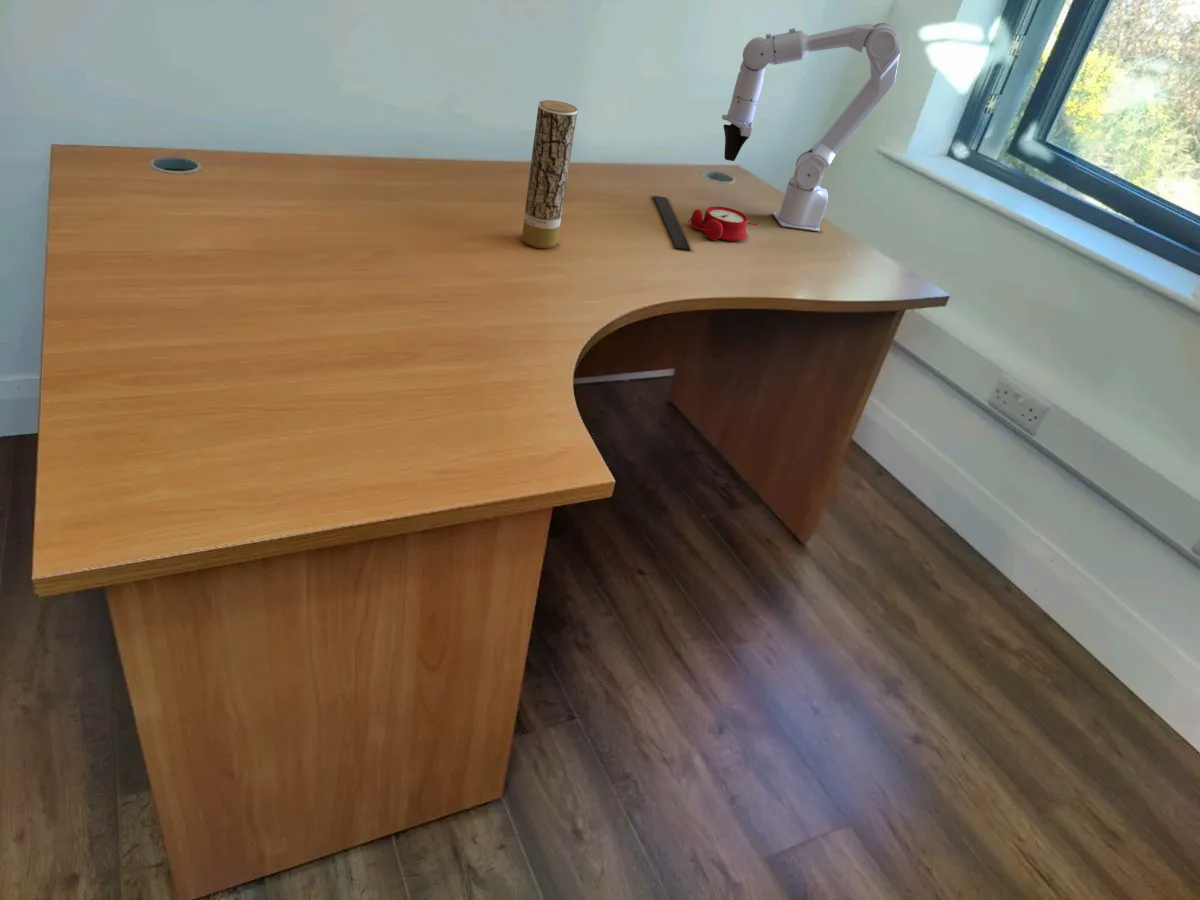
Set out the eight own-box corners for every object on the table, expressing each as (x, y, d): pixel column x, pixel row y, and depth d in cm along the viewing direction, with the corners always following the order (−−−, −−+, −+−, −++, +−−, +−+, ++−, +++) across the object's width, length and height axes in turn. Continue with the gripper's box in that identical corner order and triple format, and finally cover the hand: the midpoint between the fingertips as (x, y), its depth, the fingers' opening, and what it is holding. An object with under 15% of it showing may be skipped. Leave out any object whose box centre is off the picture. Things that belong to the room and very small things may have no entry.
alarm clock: (764, 224, 179) (716, 212, 169) (751, 251, 181) (703, 240, 172) (733, 206, 185) (686, 193, 176) (721, 232, 188) (674, 221, 178)
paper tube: (551, 253, 155) (572, 114, 141) (516, 244, 156) (534, 105, 141) (560, 241, 161) (581, 106, 146) (527, 232, 161) (544, 97, 147)
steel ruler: (665, 199, 193) (666, 197, 192) (689, 250, 169) (690, 249, 168) (653, 197, 192) (653, 195, 192) (675, 249, 168) (676, 247, 168)
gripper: (721, 86, 188) (706, 147, 196) (735, 103, 176) (719, 167, 184) (750, 91, 189) (734, 152, 197) (767, 108, 178) (749, 171, 185)
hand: (729, 159), depth 191 cm, fingers closed
